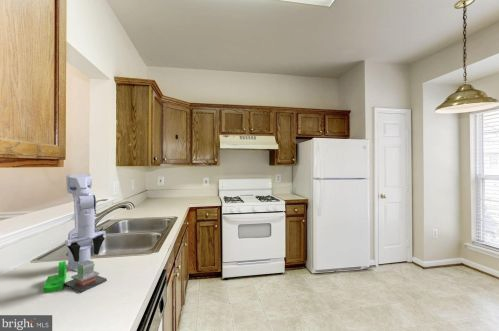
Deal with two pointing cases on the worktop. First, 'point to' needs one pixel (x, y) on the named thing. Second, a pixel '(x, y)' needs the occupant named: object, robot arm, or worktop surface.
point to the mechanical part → (56, 279)
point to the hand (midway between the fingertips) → (86, 257)
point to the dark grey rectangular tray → (85, 282)
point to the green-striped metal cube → (85, 268)
